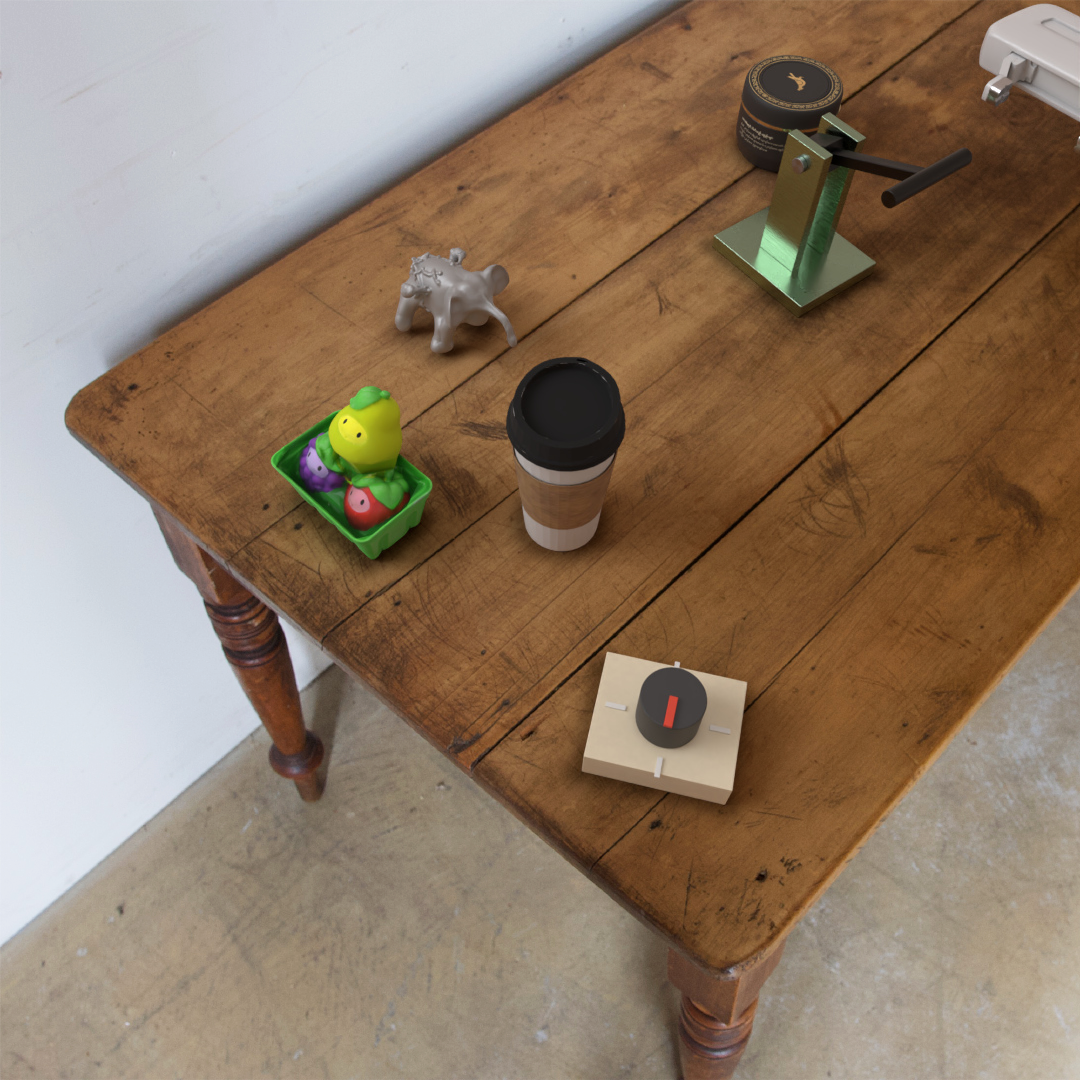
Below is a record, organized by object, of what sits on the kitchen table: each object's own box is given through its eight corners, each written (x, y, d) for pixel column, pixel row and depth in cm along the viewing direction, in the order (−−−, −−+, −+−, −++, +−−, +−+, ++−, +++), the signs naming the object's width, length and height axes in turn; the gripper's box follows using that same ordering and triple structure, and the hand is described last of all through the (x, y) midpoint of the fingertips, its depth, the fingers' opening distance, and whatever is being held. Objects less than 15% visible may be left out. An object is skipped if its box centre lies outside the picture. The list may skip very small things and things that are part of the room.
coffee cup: (625, 493, 81) (642, 368, 69) (596, 577, 77) (609, 461, 64) (527, 467, 83) (527, 340, 70) (494, 549, 78) (487, 430, 66)
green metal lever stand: (872, 273, 96) (920, 149, 84) (797, 318, 92) (836, 195, 81) (785, 206, 101) (818, 80, 89) (711, 246, 97) (736, 121, 86)
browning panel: (740, 695, 72) (748, 677, 69) (724, 809, 68) (732, 794, 65) (605, 665, 73) (608, 646, 71) (580, 775, 69) (582, 759, 66)
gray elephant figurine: (428, 283, 94) (420, 217, 88) (545, 317, 92) (547, 253, 86) (385, 350, 90) (373, 286, 83) (507, 388, 87) (506, 325, 81)
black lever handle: (971, 172, 80) (973, 143, 79) (895, 216, 78) (895, 186, 76) (846, 145, 90) (845, 118, 88) (773, 183, 87) (772, 156, 85)
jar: (777, 107, 110) (793, 41, 103) (846, 152, 105) (866, 86, 99) (712, 142, 106) (724, 76, 100) (780, 191, 102) (797, 124, 96)
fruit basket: (278, 496, 81) (245, 407, 71) (361, 435, 84) (340, 342, 75) (370, 581, 77) (348, 497, 67) (453, 513, 80) (443, 424, 71)
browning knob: (642, 681, 69) (648, 657, 66) (704, 696, 69) (713, 673, 65) (629, 739, 67) (634, 717, 64) (693, 756, 66) (701, 734, 63)
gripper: (1053, -32, 89) (948, 32, 85) (1265, 70, 80) (1157, 147, 76) (1029, 35, 95) (928, 98, 91) (1225, 138, 85) (1122, 212, 82)
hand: (1035, 121), depth 84 cm, fingers open, 8 cm apart
